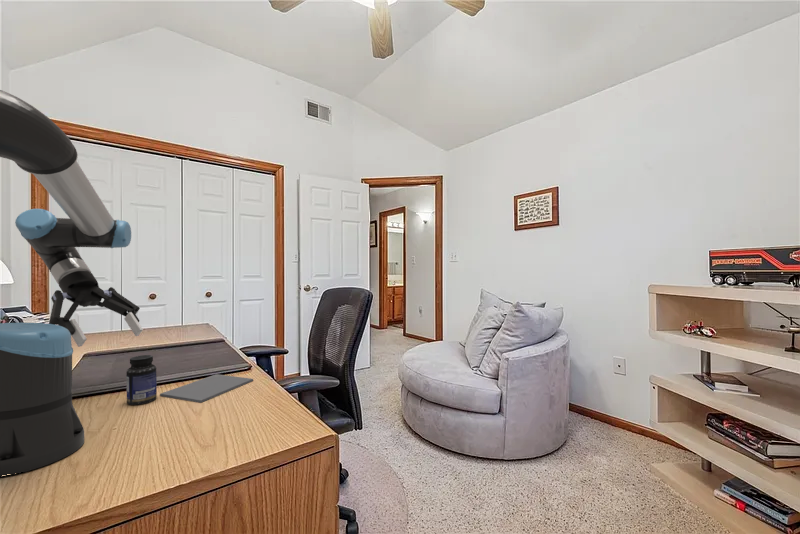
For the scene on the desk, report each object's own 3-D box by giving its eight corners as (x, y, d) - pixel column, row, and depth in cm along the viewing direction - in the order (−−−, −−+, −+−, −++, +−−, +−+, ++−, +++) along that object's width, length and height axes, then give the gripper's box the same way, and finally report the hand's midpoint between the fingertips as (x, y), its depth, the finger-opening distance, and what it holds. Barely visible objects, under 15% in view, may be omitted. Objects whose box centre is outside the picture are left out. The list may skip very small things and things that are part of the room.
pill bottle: (162, 397, 93) (162, 354, 93) (143, 406, 87) (143, 360, 87) (140, 396, 93) (140, 353, 93) (119, 405, 87) (119, 359, 87)
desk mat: (200, 402, 89) (200, 400, 89) (160, 396, 94) (160, 393, 94) (253, 380, 106) (253, 378, 106) (216, 376, 110) (216, 374, 110)
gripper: (117, 285, 111) (152, 337, 106) (8, 291, 88) (46, 358, 83) (129, 268, 109) (165, 320, 105) (20, 270, 86) (60, 337, 81)
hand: (113, 337), depth 94 cm, fingers open, 13 cm apart
